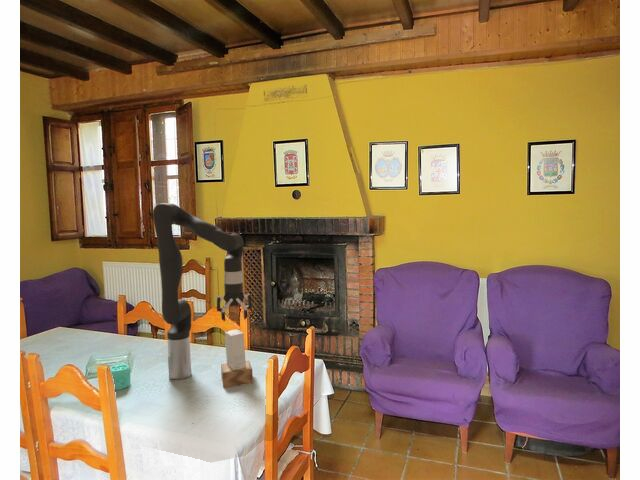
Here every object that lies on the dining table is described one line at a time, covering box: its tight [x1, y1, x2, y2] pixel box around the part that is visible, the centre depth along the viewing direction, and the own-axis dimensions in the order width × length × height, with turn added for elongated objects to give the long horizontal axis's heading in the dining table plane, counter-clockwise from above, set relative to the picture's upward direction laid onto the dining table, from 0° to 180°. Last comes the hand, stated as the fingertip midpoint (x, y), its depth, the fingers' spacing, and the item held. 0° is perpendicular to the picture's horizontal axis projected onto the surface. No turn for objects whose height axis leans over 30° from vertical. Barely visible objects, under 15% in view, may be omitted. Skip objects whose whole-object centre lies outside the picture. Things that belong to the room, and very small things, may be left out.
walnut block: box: [220, 360, 254, 388], centre depth 177 cm, size 12×10×6 cm
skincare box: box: [224, 328, 247, 370], centre depth 176 cm, size 8×6×15 cm
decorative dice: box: [109, 363, 131, 391], centre depth 174 cm, size 8×8×8 cm
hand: (234, 319), depth 176 cm, fingers open, 8 cm apart
